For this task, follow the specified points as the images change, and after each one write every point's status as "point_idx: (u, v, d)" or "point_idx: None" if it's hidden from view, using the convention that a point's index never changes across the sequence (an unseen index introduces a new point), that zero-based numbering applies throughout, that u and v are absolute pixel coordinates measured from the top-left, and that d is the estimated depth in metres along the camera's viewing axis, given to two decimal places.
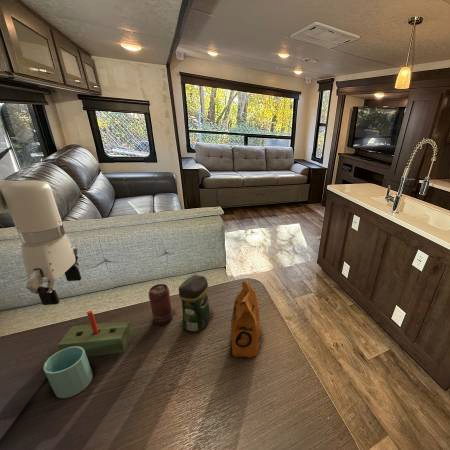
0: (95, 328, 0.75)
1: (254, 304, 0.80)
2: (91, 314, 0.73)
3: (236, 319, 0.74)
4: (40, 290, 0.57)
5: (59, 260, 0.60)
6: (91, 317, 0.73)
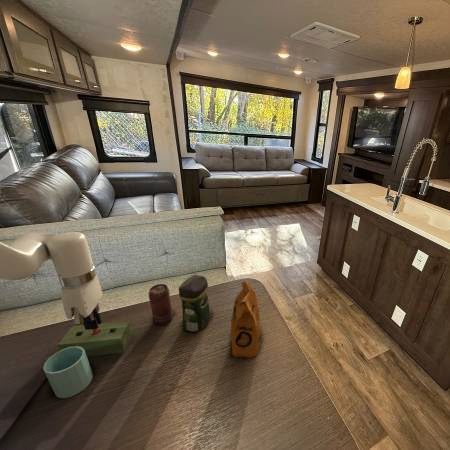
0: None
1: (254, 304, 0.80)
2: None
3: (236, 319, 0.74)
4: (86, 319, 0.70)
5: (91, 298, 0.69)
6: None
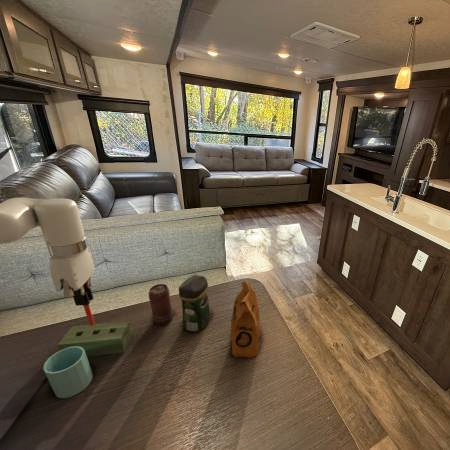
0: None
1: (254, 304, 0.80)
2: None
3: (236, 319, 0.74)
4: (76, 293, 0.66)
5: (82, 270, 0.66)
6: None
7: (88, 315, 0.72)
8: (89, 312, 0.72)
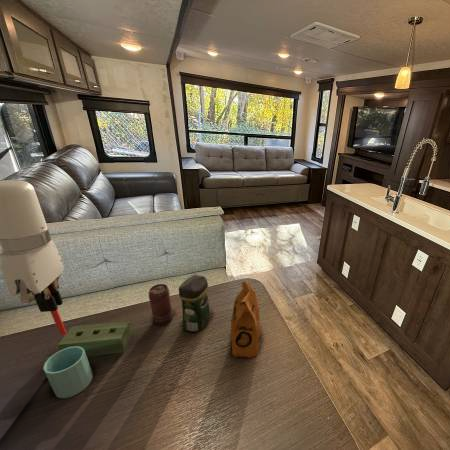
0: None
1: (254, 304, 0.80)
2: None
3: (236, 319, 0.74)
4: (38, 297, 0.54)
5: (44, 269, 0.54)
6: None
7: (57, 323, 0.61)
8: (58, 319, 0.60)
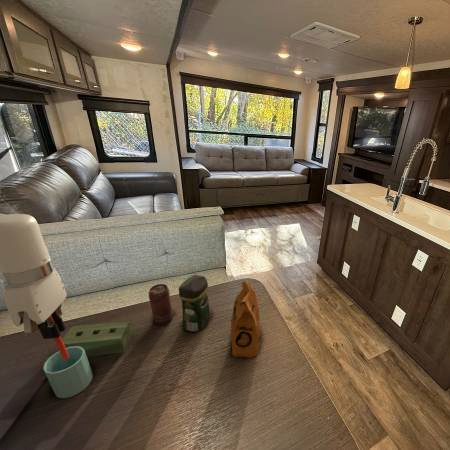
0: None
1: (254, 304, 0.80)
2: None
3: (236, 319, 0.74)
4: (41, 326, 0.55)
5: (47, 299, 0.55)
6: None
7: (60, 348, 0.61)
8: (61, 345, 0.61)
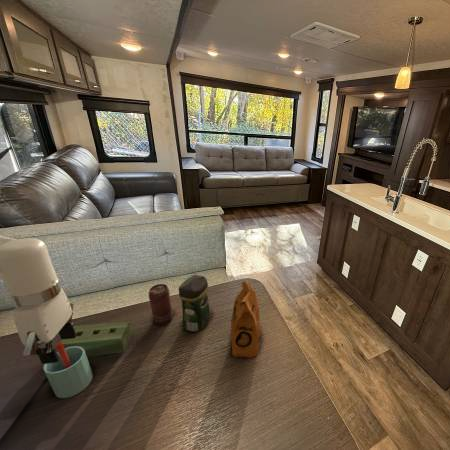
0: (67, 362, 0.64)
1: (254, 304, 0.80)
2: (61, 346, 0.62)
3: (236, 319, 0.74)
4: (39, 352, 0.55)
5: (54, 319, 0.57)
6: (61, 350, 0.62)
7: None
8: None
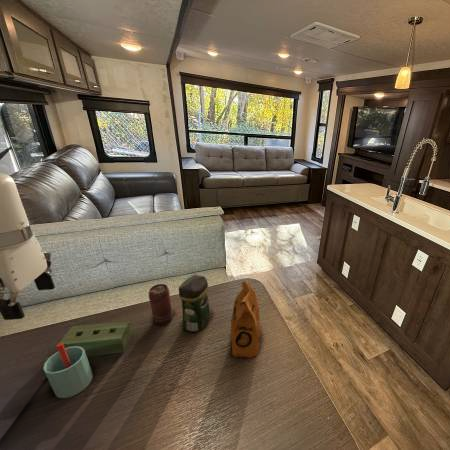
0: (67, 362, 0.64)
1: (254, 304, 0.80)
2: (61, 347, 0.62)
3: (236, 319, 0.74)
4: None
5: (25, 267, 0.51)
6: (62, 350, 0.62)
7: None
8: None
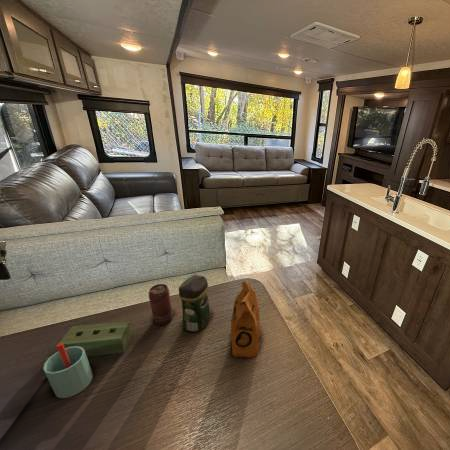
0: (67, 362, 0.64)
1: (254, 304, 0.80)
2: (61, 347, 0.62)
3: (236, 319, 0.74)
4: None
5: None
6: (62, 350, 0.62)
7: None
8: None
